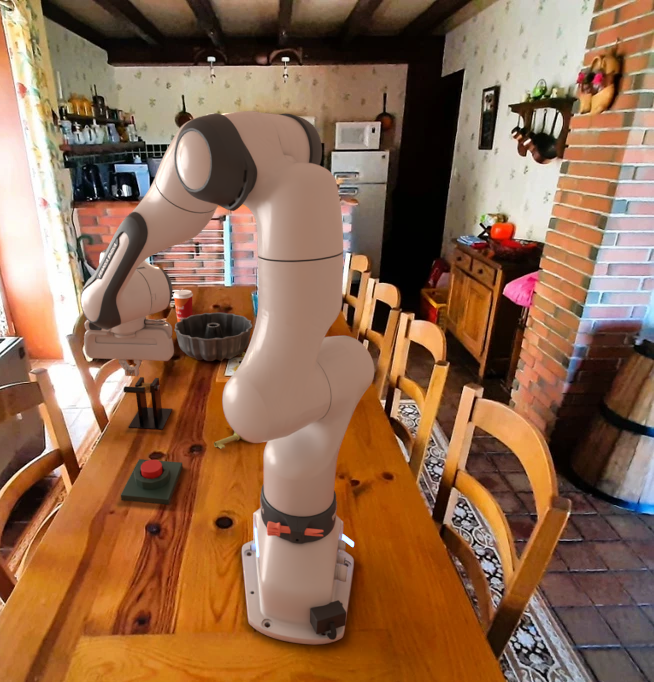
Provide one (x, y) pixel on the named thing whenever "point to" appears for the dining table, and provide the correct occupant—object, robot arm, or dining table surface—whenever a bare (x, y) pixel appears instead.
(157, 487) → the switch box
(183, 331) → the bundt pan
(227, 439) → the key
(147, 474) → the button
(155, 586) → the dining table surface
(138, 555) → the dining table surface
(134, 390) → the lever
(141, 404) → the lever bracket
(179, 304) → the paper cup
